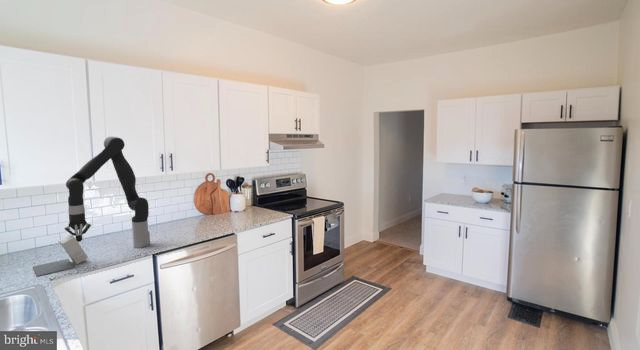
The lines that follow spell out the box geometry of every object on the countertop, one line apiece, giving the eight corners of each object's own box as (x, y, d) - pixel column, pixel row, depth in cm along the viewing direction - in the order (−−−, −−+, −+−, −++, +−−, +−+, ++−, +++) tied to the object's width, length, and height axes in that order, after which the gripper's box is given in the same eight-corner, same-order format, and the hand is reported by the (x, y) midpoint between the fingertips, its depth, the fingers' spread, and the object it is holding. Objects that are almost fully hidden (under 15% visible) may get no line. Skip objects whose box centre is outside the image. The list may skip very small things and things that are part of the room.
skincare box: (72, 261, 192) (57, 240, 186) (84, 254, 197) (69, 233, 190) (77, 264, 187) (61, 243, 181) (89, 257, 192) (74, 236, 185)
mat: (68, 259, 195) (68, 258, 195) (74, 267, 183) (74, 266, 182) (33, 267, 183) (32, 266, 183) (37, 276, 171) (37, 275, 171)
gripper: (88, 209, 196) (91, 237, 198) (61, 213, 186) (63, 242, 188) (92, 211, 191) (94, 240, 193) (63, 215, 181) (66, 245, 183)
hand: (79, 241), depth 190 cm, fingers closed
